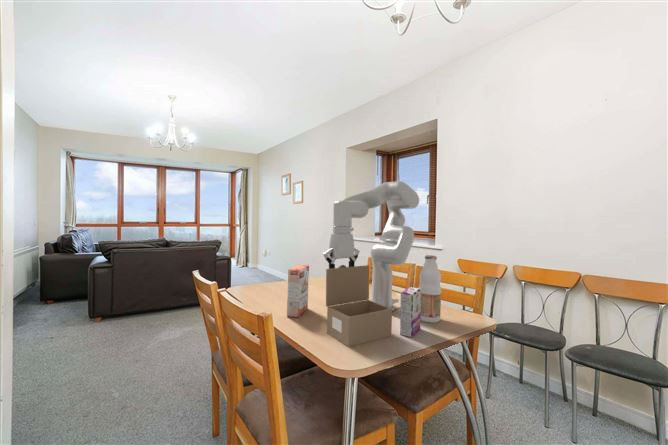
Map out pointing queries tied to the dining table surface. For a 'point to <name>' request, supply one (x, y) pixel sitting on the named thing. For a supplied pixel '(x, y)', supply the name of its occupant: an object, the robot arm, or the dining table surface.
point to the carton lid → (347, 284)
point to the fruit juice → (430, 290)
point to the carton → (359, 322)
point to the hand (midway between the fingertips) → (341, 271)
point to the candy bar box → (410, 311)
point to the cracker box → (297, 290)
